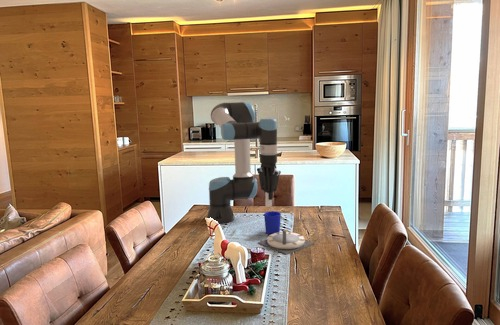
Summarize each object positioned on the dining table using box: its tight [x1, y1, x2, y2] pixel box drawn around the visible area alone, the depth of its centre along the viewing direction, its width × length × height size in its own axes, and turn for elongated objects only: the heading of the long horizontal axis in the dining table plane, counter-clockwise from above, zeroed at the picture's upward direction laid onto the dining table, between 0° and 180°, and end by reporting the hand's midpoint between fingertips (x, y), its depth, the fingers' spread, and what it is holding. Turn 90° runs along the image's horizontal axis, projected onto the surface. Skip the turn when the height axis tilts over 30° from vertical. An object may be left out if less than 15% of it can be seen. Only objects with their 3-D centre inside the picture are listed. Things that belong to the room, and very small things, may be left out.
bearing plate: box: [257, 229, 315, 255], centre depth 172 cm, size 18×18×3 cm
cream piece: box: [267, 229, 306, 249], centre depth 172 cm, size 17×17×8 cm
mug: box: [263, 210, 282, 235], centre depth 188 cm, size 8×12×10 cm
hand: (268, 206), depth 169 cm, fingers closed
